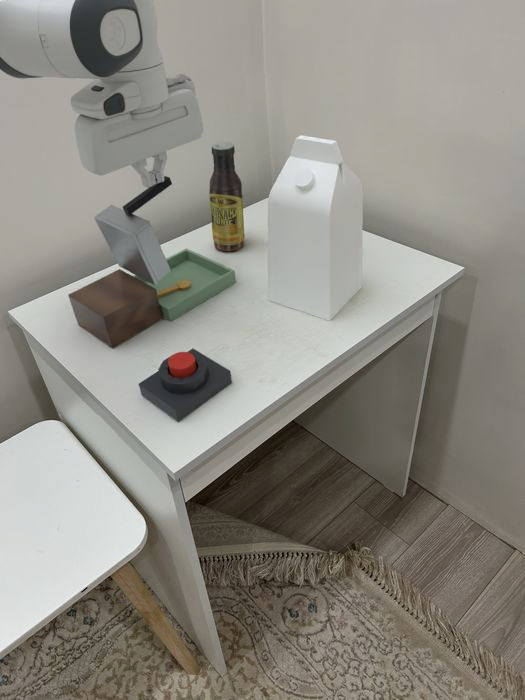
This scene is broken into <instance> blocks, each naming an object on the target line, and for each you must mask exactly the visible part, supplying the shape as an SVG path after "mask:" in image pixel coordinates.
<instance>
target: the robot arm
mask: <svg viewBox="0 0 525 700" xmlns="http://www.w3.org/2000/svg"><path fill="white" fill-rule="evenodd" d="M0 71H2V72H3V73H4V74H6V75H8V76H10V77H12V78H16V79H21V80H22V79H23V80H24V79H36V78H37V79H39V78H57V79H58V78H60V79H85V80H86V79H87V80H88V79H89V80H91V81H90V82H89V83H87V84H86V85H85V86H84V87H82V88H81V89H80V90H78V91H77V92H76V93H74V94H73V95H72V96H71V97H70V105H71V108H72V111H74V112H75V113H77V114H79V115H78V116H77V117H76V120H75V123H74V133H75V141H76V145H77V146H76V147H77V151H78V155H79V159H80V162H81V165H82V167H83V168H84V169H85V170H86V171H88V172H90V173H91V174H94V175H97V176H100V177H101V176H105V175H108V174H110V173H112V172H113V173H114V172H116V171H118V170H121V169H123V168H126V167H128V166H131V167H132V168H133V170H135V171H136V173H138V175H140V181H141V184H142V186H143V187H145V188H146V189H148V188H149V187H152V186H154V185H156V184H159V183H161V182H164V176H165V175H164V170H165V166H166V164H167V161H168V154H167V152H169V151H170V150H172V149H176V148H178V147H180V146H181V147H182V146H183V145H185V144H188V143H191V142H194V141H196V140H199V139H201V138H202V136H203V132H204V122H203V118H202V113H201V109H200V105H199V102H198V98H197V96H196V95H197V93H196V88H195V87H196V86H195V82H194V81H193V79H192V78H191V77H189V76H186V74H184V73H182V74H181V73H179V74H177V75H175V76H171V77H166V70H165V63H164V58H163V55H162V52H161V50H160V47H159V42H158V17H157V12H156V7H155V1H154V0H0ZM149 158H153V164H152V169H151V170H147V169H146V167H147V166H148V162H147V159H149Z"/></svg>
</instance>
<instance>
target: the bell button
mask: <svg viewBox="0 0 525 700" xmlns="http://www.w3.org/2000/svg"><path fill="white" fill-rule="evenodd" d="M170 356H171V357H170ZM170 356H169V357H170V358H169V360H168V365H169V369H170V373H171V375H172V376H173V377H175V378H184V377H188V376H191V375H192V374H194V373H195V371H196V363H195V358H194V356H193V354H191V353H189V352H188V351H178V352H175V353H173V354H171V355H170Z"/></svg>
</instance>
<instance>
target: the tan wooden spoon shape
mask: <svg viewBox="0 0 525 700" xmlns="http://www.w3.org/2000/svg"><path fill="white" fill-rule="evenodd" d="M190 287H191V282H190V281H188V280H181V281H179V282H177V283H176V285H174V286H171V287H168V288H166V289H163V290H160V291H158V292H157V295H158V298H160V297H163V296H166V295H168V294H171V293H173V292H176V291H179V290H181V291H184V290H188V289H189V288H190Z"/></svg>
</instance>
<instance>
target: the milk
mask: <svg viewBox="0 0 525 700" xmlns="http://www.w3.org/2000/svg"><path fill="white" fill-rule="evenodd" d="M337 141H338V140H333V139H326V138H320V137H314V136H307V135H299V136H296V138H295V140H294V143H293V145H292V148H291V151H290V154H289V157H288V158H287V160H286V162H284V163H285V164H284V165H283V167H282V168H281V171H280V172H279V174H278V176H277V178H276V180H275V182H274V183H273V186H271V187H272V188H271V190H270V192H269V194H268V199H267V301H269V302H271V303H275V304H278V305H280V306H281V305H282V306H284V307H286V308H290V309H292V310H296V311H298V312H301V313H305V314H308V315H311V316H314V317H317V318H320V319H323V320H325V321H328V322H331V321H332V320H333V318H334V317H335V316H336V315H337V314H338V313H339V312H340V311H341V310H342V309H343V308H344V307H345V306H346V305H347V303H349V301H350V300H351V299H352V298H353V297H354V296H355V295H356V294H357V293H358V292H359V291H360V290H361V289H362V287H363V233H364V231H363V224H364V223H363V221H364V220H363V217H364V216H363V215H364V214H363V213H364V209H363V208H364V207H363V206H364V190H363V189H364V188H363V184H362V181H361V179H360V178H359V177H358V176H357V174H356V173H355V172H354V171H353V170H352V169H351V168H350V167H349V166H348V165H347V163H345V162H344V158H343V156H342V153H341V150H340V146H339V144H338V142H337Z"/></svg>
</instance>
